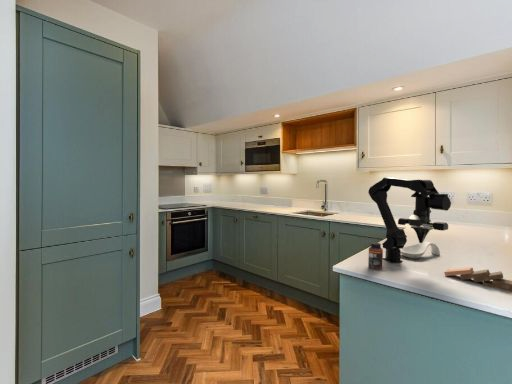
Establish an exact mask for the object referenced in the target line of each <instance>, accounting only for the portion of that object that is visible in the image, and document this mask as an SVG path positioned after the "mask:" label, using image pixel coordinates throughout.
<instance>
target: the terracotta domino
mask: <svg viewBox="0 0 512 384" xmlns="http://www.w3.org/2000/svg"><path fill="white" fill-rule="evenodd" d="M472 272H474V269H473V267H461V268H452V269H450V268H449V269H447V270H445V271H444V272H443V273H444V275H445V277H449V276H460V275H464V274H471V273H472Z"/></svg>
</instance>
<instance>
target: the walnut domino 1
mask: <svg viewBox="0 0 512 384" xmlns="http://www.w3.org/2000/svg"><path fill="white" fill-rule="evenodd" d="M473 271H474V270H473ZM490 273H491V272H490V270H489V268H488V269H481V270H475V271H474V272H472V273H471V274H464V275H459V278H460V281H463V280H464V281H465V280H471V279H472V280H473V278H480V277H487V276H489V274H490Z"/></svg>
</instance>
